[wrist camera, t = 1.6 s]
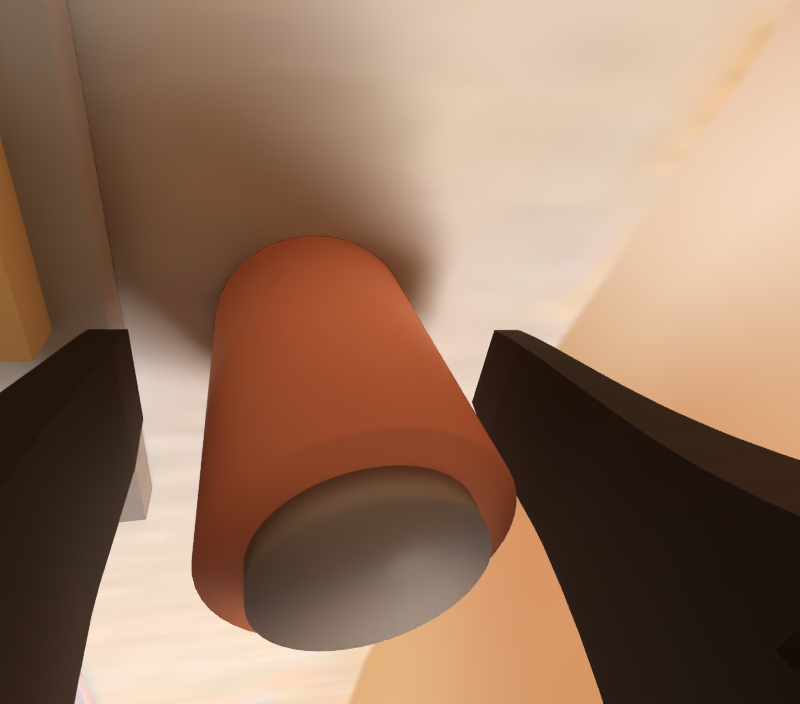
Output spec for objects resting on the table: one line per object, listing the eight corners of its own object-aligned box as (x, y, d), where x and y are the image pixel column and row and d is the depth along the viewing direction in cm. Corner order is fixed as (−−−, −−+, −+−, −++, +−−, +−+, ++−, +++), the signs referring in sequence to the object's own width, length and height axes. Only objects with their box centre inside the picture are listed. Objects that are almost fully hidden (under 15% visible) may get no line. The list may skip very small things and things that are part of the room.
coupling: (390, 394, 13) (485, 637, 8) (219, 402, 12) (200, 701, 6) (418, 242, 11) (581, 444, 6) (210, 229, 9) (167, 481, 4)
